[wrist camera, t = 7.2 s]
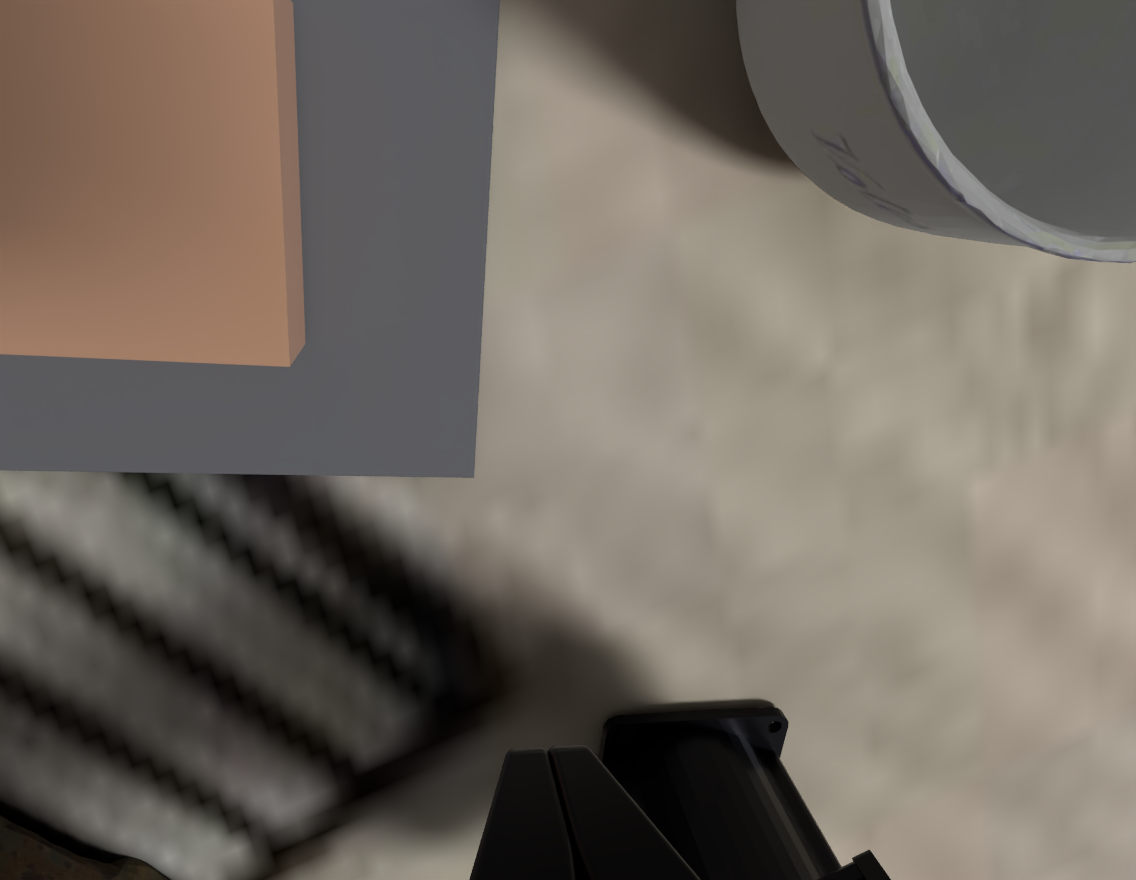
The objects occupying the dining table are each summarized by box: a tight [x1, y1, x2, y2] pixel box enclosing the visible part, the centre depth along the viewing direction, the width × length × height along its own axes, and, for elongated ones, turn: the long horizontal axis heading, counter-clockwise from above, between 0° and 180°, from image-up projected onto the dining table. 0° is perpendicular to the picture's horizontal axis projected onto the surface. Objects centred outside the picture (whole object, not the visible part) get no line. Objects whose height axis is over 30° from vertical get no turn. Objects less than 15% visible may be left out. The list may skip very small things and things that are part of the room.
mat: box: [0, 0, 500, 478], centre depth 15 cm, size 16×14×1 cm
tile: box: [0, 0, 305, 367], centre depth 14 cm, size 2×7×8 cm
